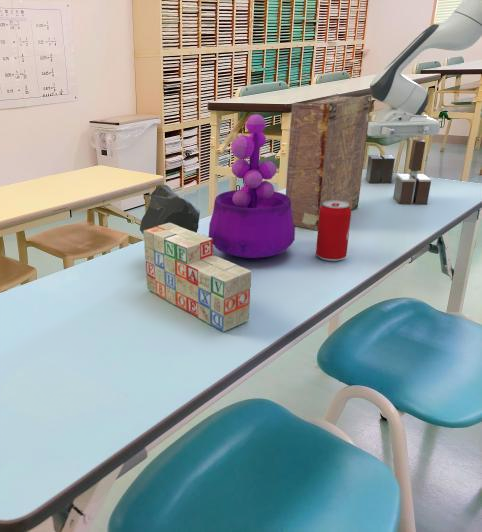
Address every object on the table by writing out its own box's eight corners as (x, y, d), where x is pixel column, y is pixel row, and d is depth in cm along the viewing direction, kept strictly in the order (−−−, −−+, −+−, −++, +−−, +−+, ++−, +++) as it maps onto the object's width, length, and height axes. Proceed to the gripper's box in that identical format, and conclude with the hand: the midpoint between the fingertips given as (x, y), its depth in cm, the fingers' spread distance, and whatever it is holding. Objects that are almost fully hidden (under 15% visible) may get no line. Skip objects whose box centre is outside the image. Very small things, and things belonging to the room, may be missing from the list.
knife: (407, 203, 146) (417, 142, 140) (402, 198, 151) (411, 139, 144) (416, 203, 146) (426, 142, 140) (411, 198, 151) (421, 139, 144)
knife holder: (369, 183, 169) (372, 158, 166) (365, 178, 174) (368, 155, 171) (391, 183, 167) (395, 158, 164) (386, 179, 173) (390, 154, 170)
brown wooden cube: (393, 197, 152) (396, 173, 150) (419, 197, 151) (423, 173, 148) (399, 204, 146) (403, 179, 143) (427, 204, 145) (431, 179, 142)
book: (326, 202, 151) (337, 93, 139) (358, 207, 145) (372, 94, 133) (283, 224, 134) (291, 103, 122) (317, 231, 128) (329, 104, 116)
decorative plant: (258, 275, 105) (267, 122, 93) (191, 253, 118) (190, 116, 106) (309, 250, 116) (322, 111, 105) (242, 233, 129) (247, 107, 117)
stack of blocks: (250, 320, 87) (253, 253, 82) (223, 333, 84) (224, 264, 79) (171, 279, 104) (169, 221, 99) (145, 288, 100) (142, 229, 95)
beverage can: (348, 254, 113) (355, 201, 108) (342, 264, 108) (349, 209, 103) (318, 250, 116) (324, 198, 111) (312, 260, 111) (317, 205, 106)
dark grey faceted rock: (213, 259, 114) (214, 178, 107) (188, 287, 101) (187, 197, 94) (154, 251, 120) (151, 174, 113) (123, 276, 107) (118, 191, 100)
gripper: (363, 116, 167) (372, 121, 154) (432, 114, 163) (447, 120, 150) (360, 136, 169) (369, 143, 157) (429, 135, 165) (444, 142, 153)
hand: (408, 132), depth 154 cm, fingers open, 8 cm apart
